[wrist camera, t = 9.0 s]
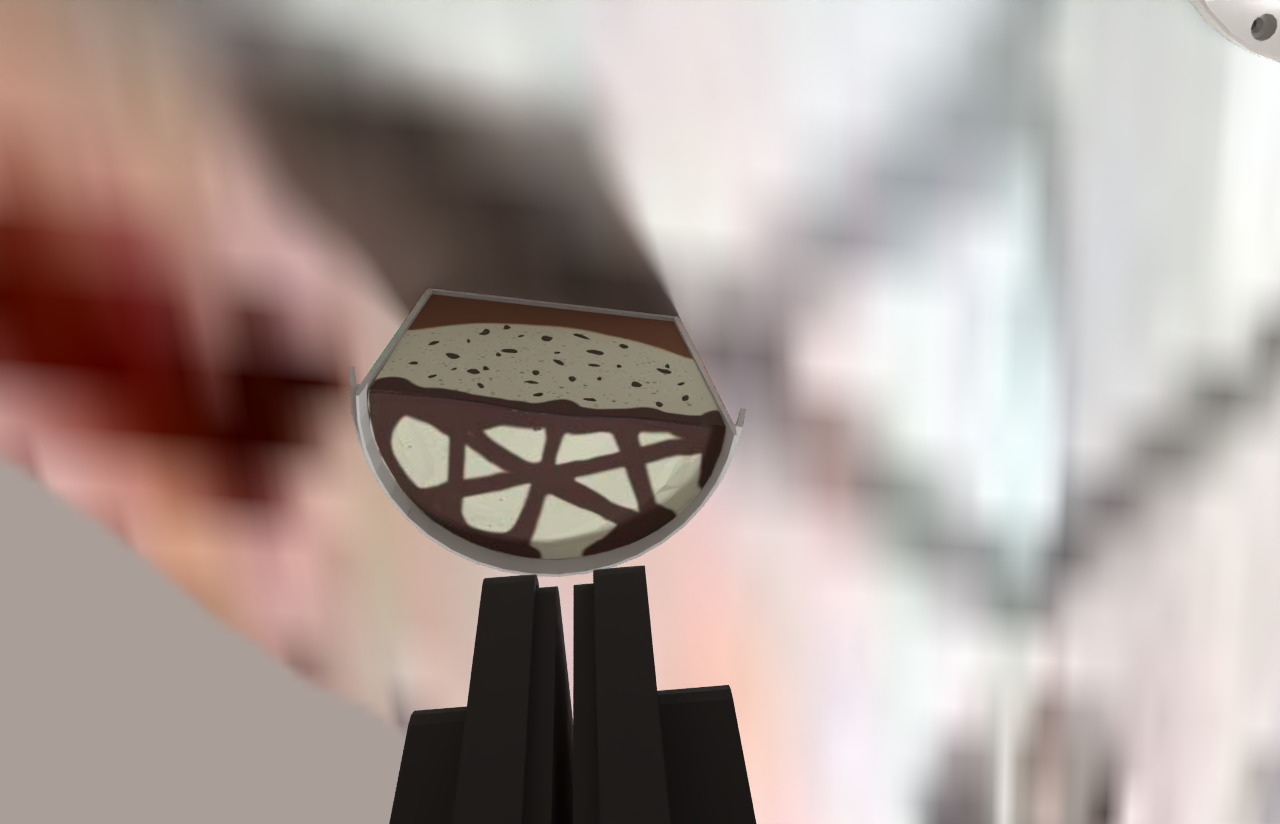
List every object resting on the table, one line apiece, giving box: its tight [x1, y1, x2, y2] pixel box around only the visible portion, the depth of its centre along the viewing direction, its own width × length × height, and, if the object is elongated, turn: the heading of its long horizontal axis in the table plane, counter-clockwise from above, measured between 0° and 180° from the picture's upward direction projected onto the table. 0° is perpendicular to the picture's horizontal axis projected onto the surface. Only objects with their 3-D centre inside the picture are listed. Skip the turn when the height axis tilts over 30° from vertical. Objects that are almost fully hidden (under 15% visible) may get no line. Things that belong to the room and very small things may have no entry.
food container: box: [349, 288, 746, 577], centre depth 41 cm, size 12×6×10 cm, turn 82°
